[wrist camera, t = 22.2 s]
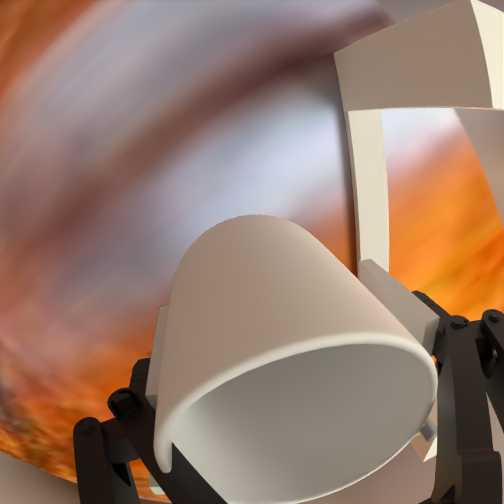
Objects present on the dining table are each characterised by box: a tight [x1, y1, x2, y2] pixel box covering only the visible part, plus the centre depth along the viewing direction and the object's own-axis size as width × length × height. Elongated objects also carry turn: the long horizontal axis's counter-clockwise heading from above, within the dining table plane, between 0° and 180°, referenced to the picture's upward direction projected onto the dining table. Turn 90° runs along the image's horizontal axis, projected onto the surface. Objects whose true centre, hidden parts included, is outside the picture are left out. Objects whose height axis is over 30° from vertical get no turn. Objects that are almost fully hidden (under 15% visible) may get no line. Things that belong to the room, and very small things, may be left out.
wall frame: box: [333, 0, 504, 462], centre depth 20 cm, size 30×3×15 cm, turn 10°
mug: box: [153, 215, 438, 504], centre depth 13 cm, size 9×12×11 cm
